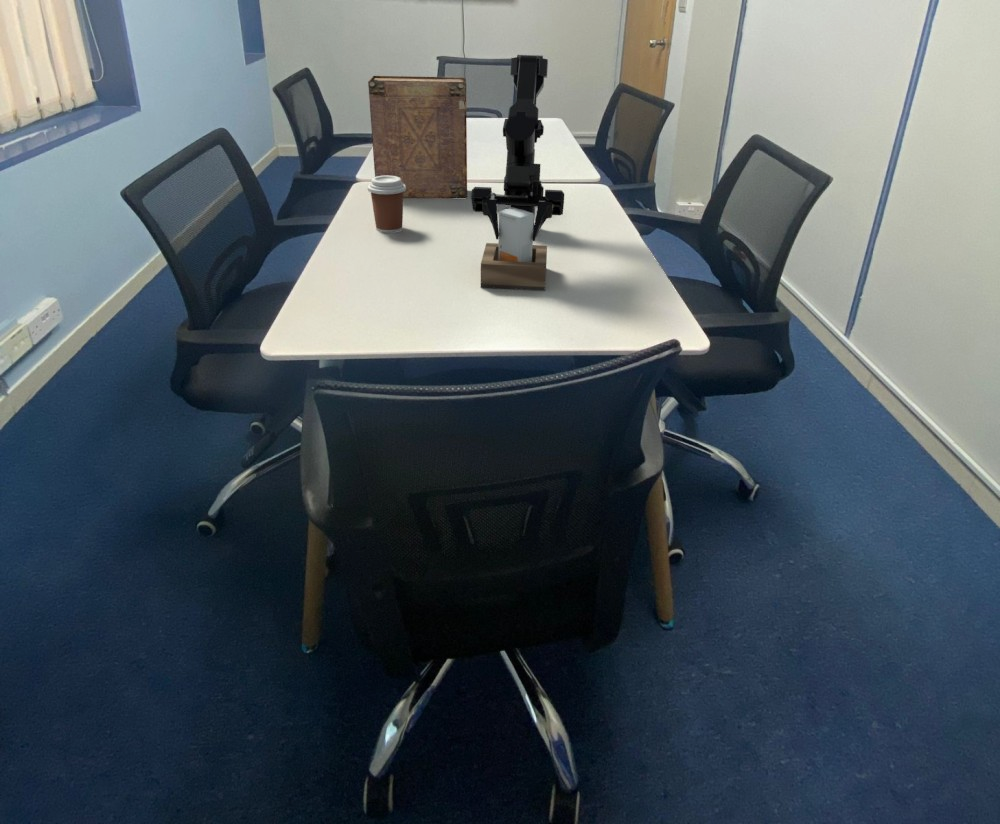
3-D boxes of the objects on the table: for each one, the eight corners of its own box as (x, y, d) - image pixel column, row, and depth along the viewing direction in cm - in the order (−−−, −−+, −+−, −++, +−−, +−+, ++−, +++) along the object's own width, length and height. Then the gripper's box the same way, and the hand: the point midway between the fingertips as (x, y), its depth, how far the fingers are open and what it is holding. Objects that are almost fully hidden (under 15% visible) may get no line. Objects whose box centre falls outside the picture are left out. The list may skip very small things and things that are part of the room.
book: (466, 190, 209) (466, 77, 194) (467, 198, 202) (467, 81, 186) (378, 189, 208) (371, 75, 192) (375, 198, 200) (368, 80, 184)
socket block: (486, 265, 156) (486, 242, 154) (545, 268, 156) (547, 245, 153) (480, 287, 145) (480, 263, 143) (544, 290, 145) (546, 266, 142)
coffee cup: (365, 225, 178) (361, 176, 172) (400, 221, 182) (397, 172, 176) (377, 236, 172) (374, 185, 165) (413, 231, 175) (411, 181, 169)
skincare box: (497, 267, 150) (498, 210, 144) (511, 262, 153) (512, 206, 147) (518, 275, 147) (520, 217, 140) (532, 270, 149) (534, 212, 143)
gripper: (472, 145, 141) (466, 218, 138) (567, 148, 140) (563, 222, 137) (475, 176, 152) (470, 244, 149) (564, 179, 151) (560, 248, 148)
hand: (515, 239), depth 145 cm, fingers open, 7 cm apart
